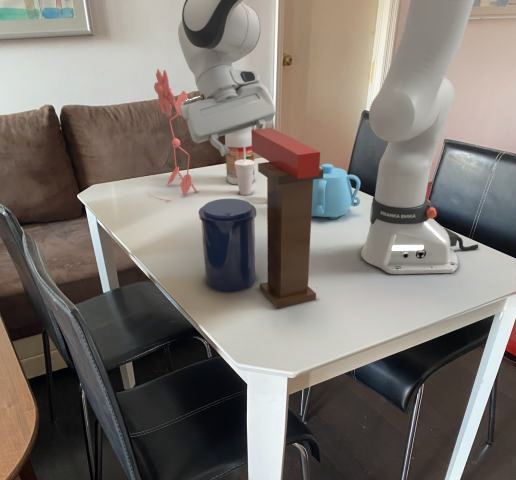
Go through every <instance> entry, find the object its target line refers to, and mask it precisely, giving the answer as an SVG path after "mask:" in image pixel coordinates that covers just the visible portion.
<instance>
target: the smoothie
mask: <svg viewBox="0 0 516 480" xmlns="http://www.w3.org/2000/svg"><path fill="white" fill-rule="evenodd" d="M234 166H235V167H236V173H237V179H238V189H239V190H238V191H239V195H241V196H249V195H252V190H253V182H254V181H253V171H254V172H255V166H256V162H255V160H254V161H253V160H247V159H246V152H245V147H244V159H243V160H237V161H235V165H234ZM252 181H253V182H252Z"/></svg>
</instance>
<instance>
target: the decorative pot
mask: <svg viewBox="0 0 516 480" xmlns="http://www.w3.org/2000/svg"><path fill="white" fill-rule="evenodd" d="M319 168H321V169H323V170H324V173H323V178H321V179H315V180H313V195H312V215H311V218H314V217H320V218H321V217H323V218H329V219H330V220H337V219H338V218H339V217H341V216H344V215H346V214H347V212H348V211H349V210H350V208H351V207H358V206H359V205H360V204H361V199H360V197H359V196H357V195H358V194H359V193H358V192H359V190H360V188H361V180H360V178H359V177H358V176H357V175H354V174H348V172H347V171H346V170H345V169H343V168H340V167H334V165H333V164H332V163H323V164H321V166H319ZM351 180H353V181H355V182H356V186H355V189H354V191H353V189H352V183H351ZM355 201H356V202H355Z"/></svg>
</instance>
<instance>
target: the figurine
mask: <svg viewBox="0 0 516 480" xmlns="http://www.w3.org/2000/svg"><path fill="white" fill-rule="evenodd" d="M155 77H156V80H157V81H156V82H154V85H153V89H154V92H156V94H157V99H158V102H157V103H156V104H155V106H154V108H157V107H158V106H159V108H160V112H161V113H162V114H165V112H166V114H167V115H168V117H171V116H172V111H173V108H172V104H173V105H174V108H175V111H176V114H175V115H173V116H172V117H171V118H170V119H169V121H168V123H169V126H170V127H169V128H170V130H171V134H172V138H173V139H172V140H171V146H172V147H173V155H174V165H175V166H174V167H175V169H173V171H172V172H171V174H170V176H169V178H168V180H167V183H166V185H167V186H168V185H170V184H171V183H172V182H173V181H174V180H175V178H176V177H177V175H178V176H179V177H177V178H176V179H177V180H179V179H181V182H180V190H181V193H182V195H183V196H186V195H187V193H188V192H189V191H190V189H191V187H192V189H193V191H194V192H195V193H198V190H197V189H196V187H195V186H194V184H193V181H192V175H190V173H189V170H190V169H189V168H190V167H189V166H190V157H191V156H190V155H191V154H190V153H188V152H187V151H186V150H185V149H184V148H182V147H181V141H180V139H179V138H176V137H175V133H174V129H173V125H172V121H173V120H174V119H175V118H177V117H178V116H180V117H181V116H182V114H181V112H180V105H181V104H182V103H183V101H184V100H186V99H189V98H188V94H187V92H186V91H185V90H182V92H181V93H179V95H178V97H177V99H176V100H175V96H174V95H175V94H174V93H173V92H172V88H171V87H170V83H169V82H170V81H169V77H168V72H167V71H166V69H163V72H161V70H160V69H159V68H156V73H155ZM176 148H178V149H180V150H181V151H182V152H184V153H185V154H186V155H187V156H188V159H187V166H186V174H185V175H184V176H182V174H181V171H180V166H177V157H176ZM149 196H150V197H153V198H155V199H157V200H159V201H164V199H162V198H159V197H155V196H153V195H152V194H151V193H149ZM166 201H167V202H171V200H170V199H169V200H168V199H166Z"/></svg>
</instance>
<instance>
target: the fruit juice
mask: <svg viewBox="0 0 516 480" xmlns="http://www.w3.org/2000/svg"><path fill="white" fill-rule="evenodd" d="M251 130H253V126H252V127H249V128H245V129H242V130H239V131H236V132H233V133H230V134H226V135H224V145H225V144H227V148H228V149H229V153H228V155H225V167H226V168H225V169H226V180H227V182H228V183H230V184H231V185H238V179H237V173H236V167H235V166H234V165H235V161H237V160H243V159H244V147H245V152H246V159H247V160H253V161H254V162H255V152H253V151H252V136H251ZM255 175H256V174H255V170H254V171H253V181H252V183H253V182H254V181H255V177H256V176H255ZM238 186H239V185H238Z"/></svg>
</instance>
